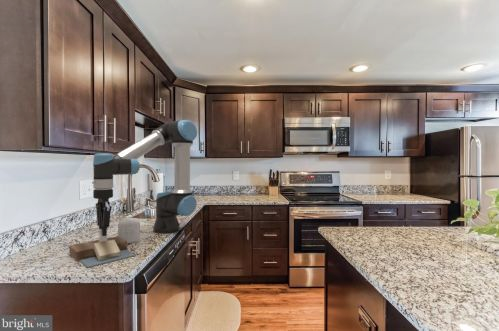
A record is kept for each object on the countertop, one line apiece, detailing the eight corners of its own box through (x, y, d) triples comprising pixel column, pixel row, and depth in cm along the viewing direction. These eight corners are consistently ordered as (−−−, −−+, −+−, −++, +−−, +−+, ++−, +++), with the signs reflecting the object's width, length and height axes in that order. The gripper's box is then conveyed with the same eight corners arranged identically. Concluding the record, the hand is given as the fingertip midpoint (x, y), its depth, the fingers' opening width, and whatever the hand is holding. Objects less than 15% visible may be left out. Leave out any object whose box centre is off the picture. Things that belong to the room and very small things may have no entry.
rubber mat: (125, 250, 121) (125, 249, 121) (134, 256, 114) (134, 255, 114) (80, 261, 107) (80, 260, 107) (87, 268, 101) (87, 266, 101)
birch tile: (113, 244, 117) (114, 239, 117) (119, 255, 112) (120, 251, 112) (93, 248, 112) (94, 243, 111) (98, 260, 107) (99, 256, 106)
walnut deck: (117, 244, 130) (117, 236, 130) (127, 250, 122) (127, 241, 122) (69, 254, 115) (69, 245, 115) (76, 261, 107) (76, 251, 107)
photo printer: (138, 240, 138) (139, 216, 137) (140, 242, 134) (140, 217, 134) (117, 243, 132) (117, 218, 132) (118, 245, 128) (118, 220, 128)
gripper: (89, 188, 116) (88, 241, 116) (98, 190, 107) (98, 248, 107) (107, 187, 121) (107, 238, 122) (118, 189, 112) (117, 244, 113)
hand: (103, 242), depth 114 cm, fingers closed
